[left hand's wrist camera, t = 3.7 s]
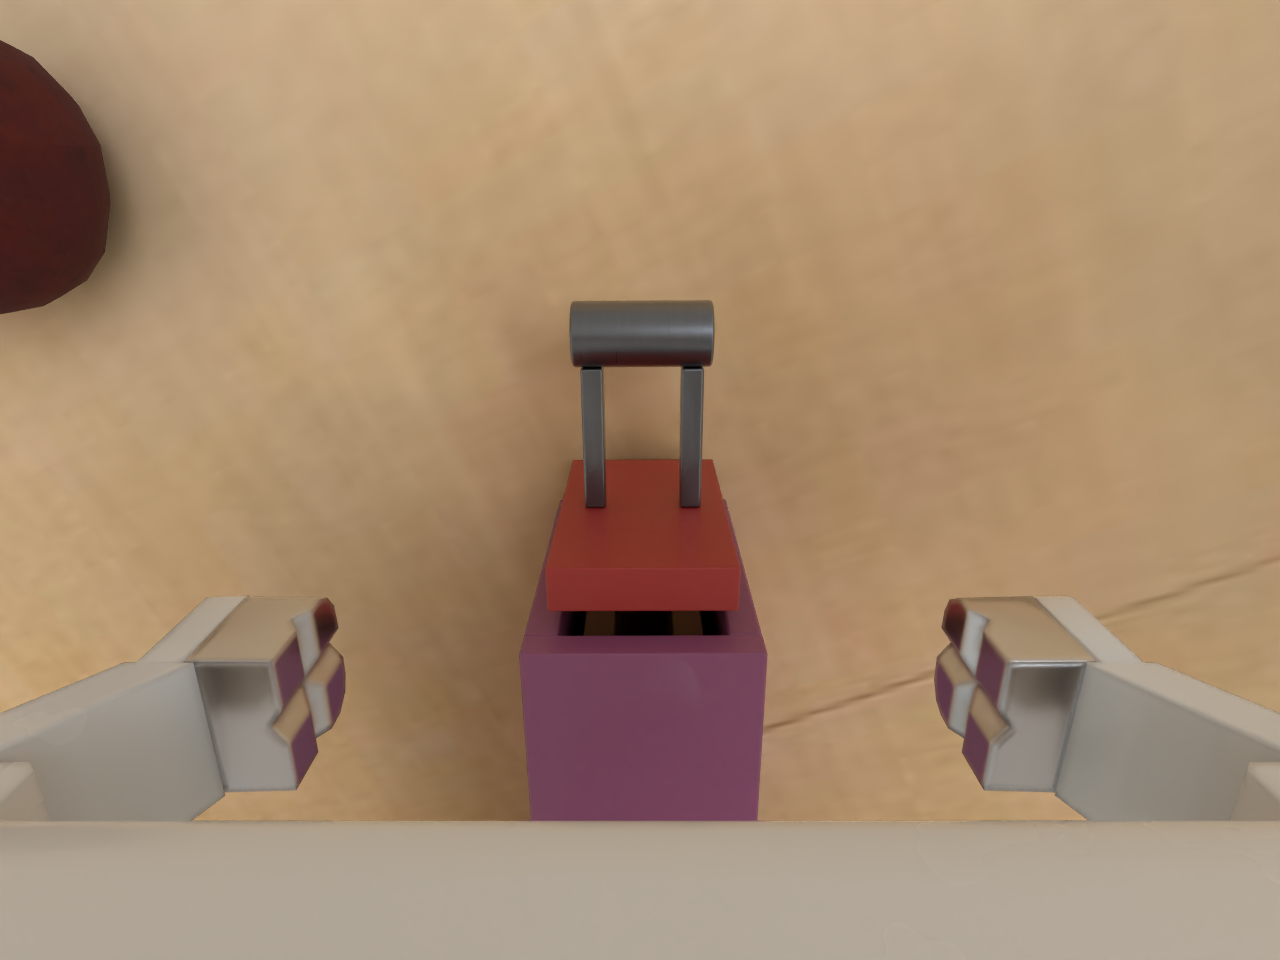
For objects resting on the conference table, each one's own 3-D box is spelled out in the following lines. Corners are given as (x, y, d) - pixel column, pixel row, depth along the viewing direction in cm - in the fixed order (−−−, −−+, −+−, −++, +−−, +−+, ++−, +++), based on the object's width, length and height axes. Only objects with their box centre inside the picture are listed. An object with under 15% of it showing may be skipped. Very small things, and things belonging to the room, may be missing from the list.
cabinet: (560, 499, 27) (518, 654, 18) (726, 498, 27) (768, 653, 18) (579, 922, 35) (556, 1186, 26) (710, 922, 35) (734, 1186, 25)
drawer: (566, 284, 24) (531, 326, 16) (717, 283, 24) (751, 325, 16) (589, 891, 33) (574, 1097, 25) (699, 891, 33) (716, 1097, 25)
